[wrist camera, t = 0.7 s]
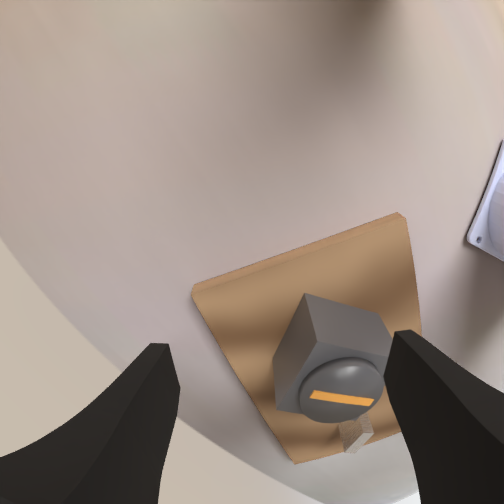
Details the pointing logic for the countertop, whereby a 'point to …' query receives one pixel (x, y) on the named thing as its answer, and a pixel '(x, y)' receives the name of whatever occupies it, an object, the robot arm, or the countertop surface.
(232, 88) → the countertop surface
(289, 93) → the countertop surface
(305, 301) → the knob
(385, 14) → the countertop surface
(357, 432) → the speckled beige tile
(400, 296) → the parts board
